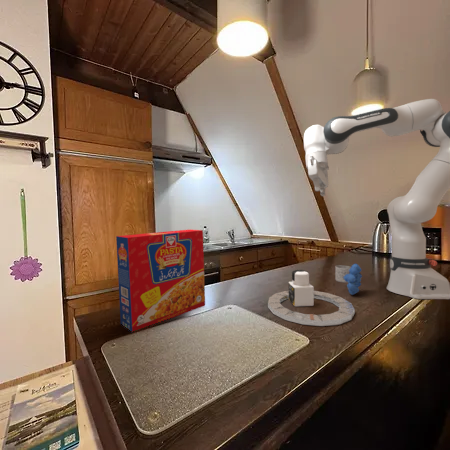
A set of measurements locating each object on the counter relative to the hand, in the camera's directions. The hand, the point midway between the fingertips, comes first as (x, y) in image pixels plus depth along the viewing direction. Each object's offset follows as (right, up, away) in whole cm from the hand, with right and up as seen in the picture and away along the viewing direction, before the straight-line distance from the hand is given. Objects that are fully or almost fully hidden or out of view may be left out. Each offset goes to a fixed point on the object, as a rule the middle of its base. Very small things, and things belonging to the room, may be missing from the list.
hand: (320, 193), depth 106 cm
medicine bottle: (-12, -42, -13) cm, 46 cm away
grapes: (+11, -41, -4) cm, 43 cm away
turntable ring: (-11, -42, -18) cm, 47 cm away
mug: (+16, -40, +16) cm, 46 cm away
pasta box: (-60, -44, -20) cm, 77 cm away
